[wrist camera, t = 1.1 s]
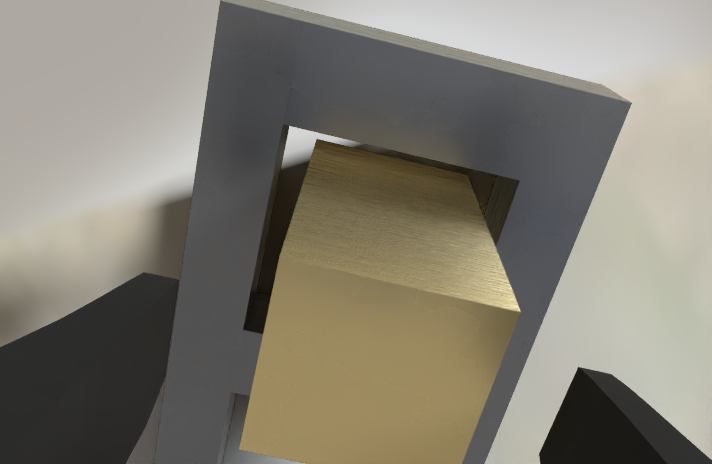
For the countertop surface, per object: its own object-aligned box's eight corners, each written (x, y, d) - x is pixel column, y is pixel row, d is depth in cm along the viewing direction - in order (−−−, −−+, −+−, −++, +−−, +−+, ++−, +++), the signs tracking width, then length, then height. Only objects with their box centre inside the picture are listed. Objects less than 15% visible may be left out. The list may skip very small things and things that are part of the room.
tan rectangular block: (466, 174, 17) (520, 312, 11) (425, 304, 19) (450, 492, 12) (316, 139, 17) (278, 257, 10) (287, 274, 18) (239, 449, 12)
